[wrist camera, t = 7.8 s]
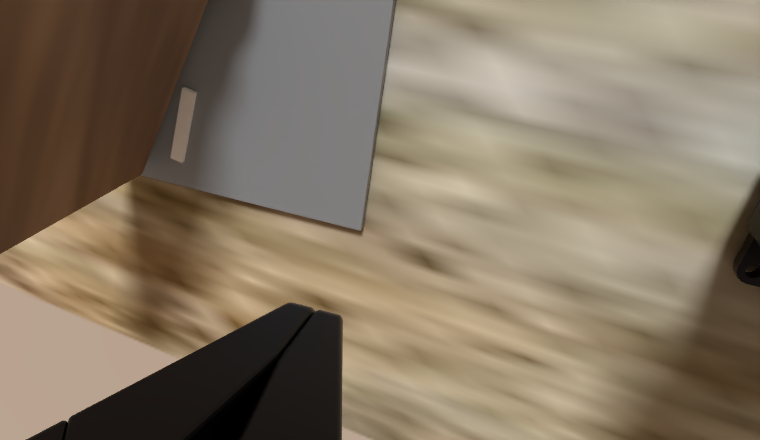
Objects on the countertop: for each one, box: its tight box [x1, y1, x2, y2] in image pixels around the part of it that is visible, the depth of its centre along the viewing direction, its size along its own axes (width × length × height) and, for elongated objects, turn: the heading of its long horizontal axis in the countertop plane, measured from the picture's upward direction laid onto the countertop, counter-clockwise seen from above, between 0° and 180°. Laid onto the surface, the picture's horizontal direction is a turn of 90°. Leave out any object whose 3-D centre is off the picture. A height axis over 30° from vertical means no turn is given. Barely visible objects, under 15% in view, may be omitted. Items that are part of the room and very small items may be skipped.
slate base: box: [140, 0, 396, 231], centre depth 19 cm, size 14×12×1 cm
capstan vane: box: [0, 0, 208, 254], centre depth 15 cm, size 4×12×9 cm, turn 148°
